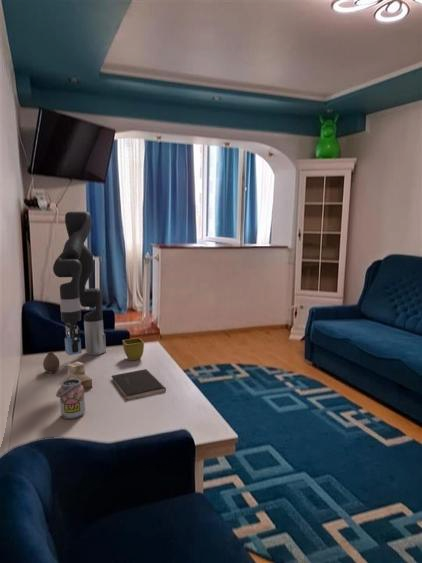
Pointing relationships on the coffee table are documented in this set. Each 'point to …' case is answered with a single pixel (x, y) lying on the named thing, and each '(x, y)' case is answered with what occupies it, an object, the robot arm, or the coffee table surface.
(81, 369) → the beech block
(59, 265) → the robot arm
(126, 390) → the hardcover book
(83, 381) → the walnut base
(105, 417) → the coffee table surface
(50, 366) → the brown oval piece
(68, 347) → the blue block
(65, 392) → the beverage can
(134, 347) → the flower pot
